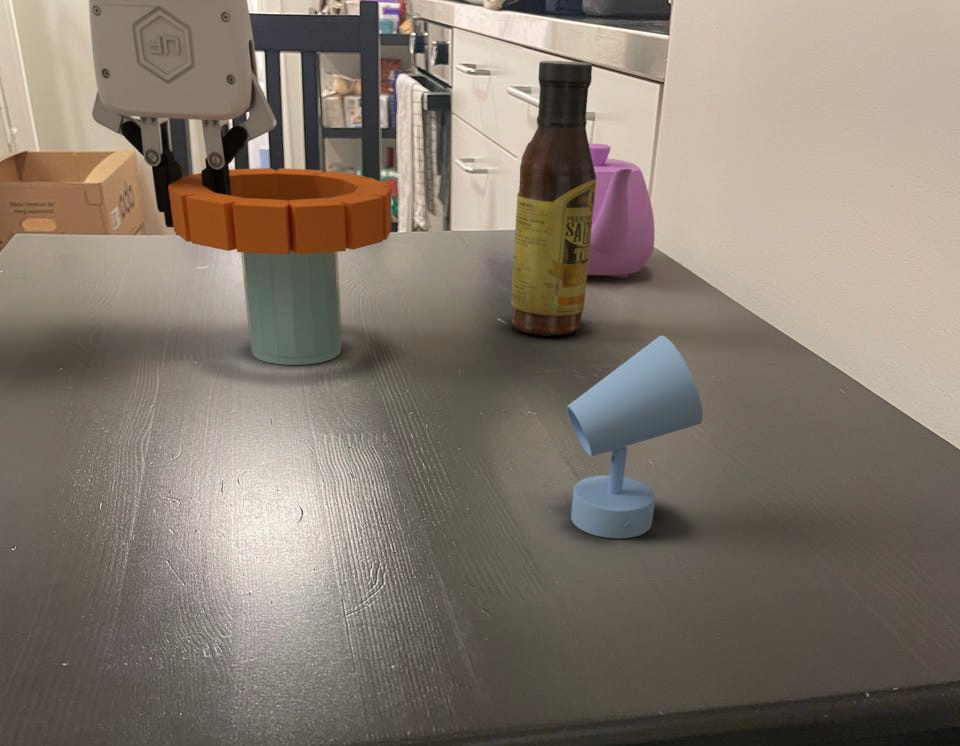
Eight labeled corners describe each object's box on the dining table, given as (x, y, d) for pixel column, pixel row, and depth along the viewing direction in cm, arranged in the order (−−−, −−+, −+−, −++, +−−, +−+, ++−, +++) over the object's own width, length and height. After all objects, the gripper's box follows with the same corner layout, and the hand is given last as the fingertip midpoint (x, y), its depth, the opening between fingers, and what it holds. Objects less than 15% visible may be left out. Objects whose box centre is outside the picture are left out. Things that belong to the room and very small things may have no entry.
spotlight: (658, 494, 57) (546, 504, 55) (684, 322, 51) (560, 327, 49) (694, 533, 53) (574, 544, 51) (726, 351, 47) (593, 357, 46)
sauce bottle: (570, 343, 80) (594, 66, 69) (499, 333, 82) (511, 61, 71) (590, 323, 85) (615, 61, 74) (523, 313, 87) (538, 57, 76)
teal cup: (242, 363, 73) (229, 237, 68) (262, 335, 79) (251, 218, 74) (334, 367, 73) (327, 241, 68) (347, 339, 79) (342, 222, 74)
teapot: (507, 249, 108) (512, 131, 101) (621, 249, 110) (634, 133, 104) (548, 297, 92) (557, 161, 85) (681, 296, 94) (700, 162, 87)
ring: (148, 248, 65) (141, 199, 63) (208, 205, 78) (203, 164, 76) (377, 259, 65) (376, 211, 63) (399, 214, 78) (398, 173, 76)
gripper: (8, -98, 58) (69, 230, 68) (276, -85, 58) (296, 241, 68) (57, -89, 64) (106, 210, 74) (299, -77, 64) (314, 220, 74)
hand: (197, 222), depth 71 cm, fingers closed on ring, 2 cm apart
